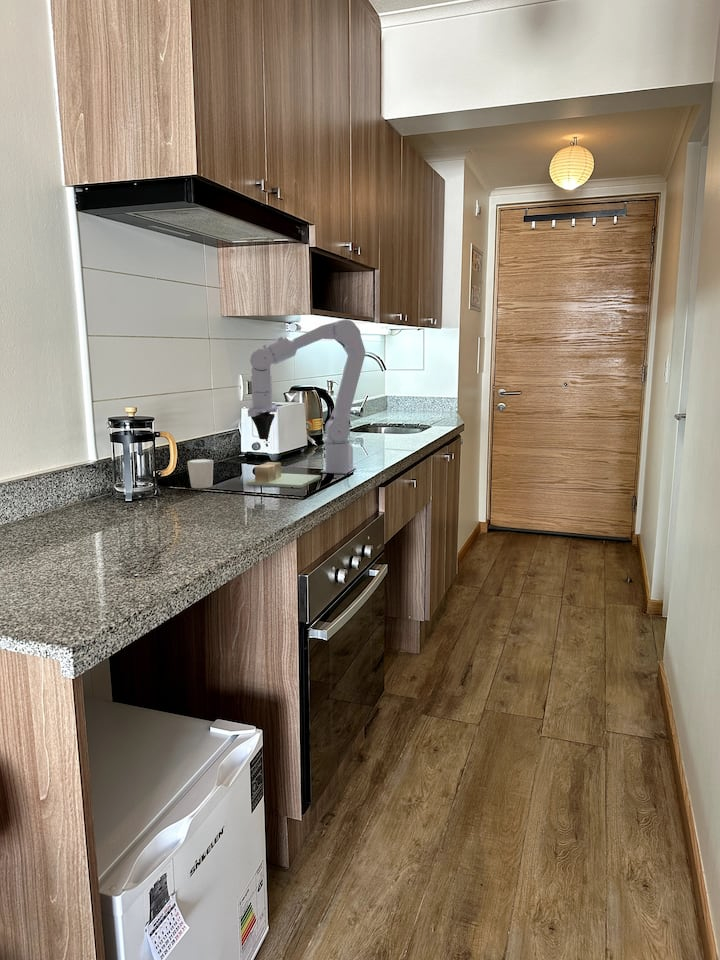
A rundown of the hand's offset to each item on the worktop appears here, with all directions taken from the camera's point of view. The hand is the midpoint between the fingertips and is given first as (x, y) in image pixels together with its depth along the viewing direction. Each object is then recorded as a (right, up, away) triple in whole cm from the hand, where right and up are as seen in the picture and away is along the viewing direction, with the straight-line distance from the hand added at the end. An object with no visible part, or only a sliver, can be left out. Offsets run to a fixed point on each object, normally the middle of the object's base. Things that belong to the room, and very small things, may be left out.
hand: (263, 439), depth 196 cm
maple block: (+4, -9, -6) cm, 11 cm away
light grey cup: (-15, -14, -14) cm, 24 cm away
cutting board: (+7, -12, -9) cm, 16 cm away
